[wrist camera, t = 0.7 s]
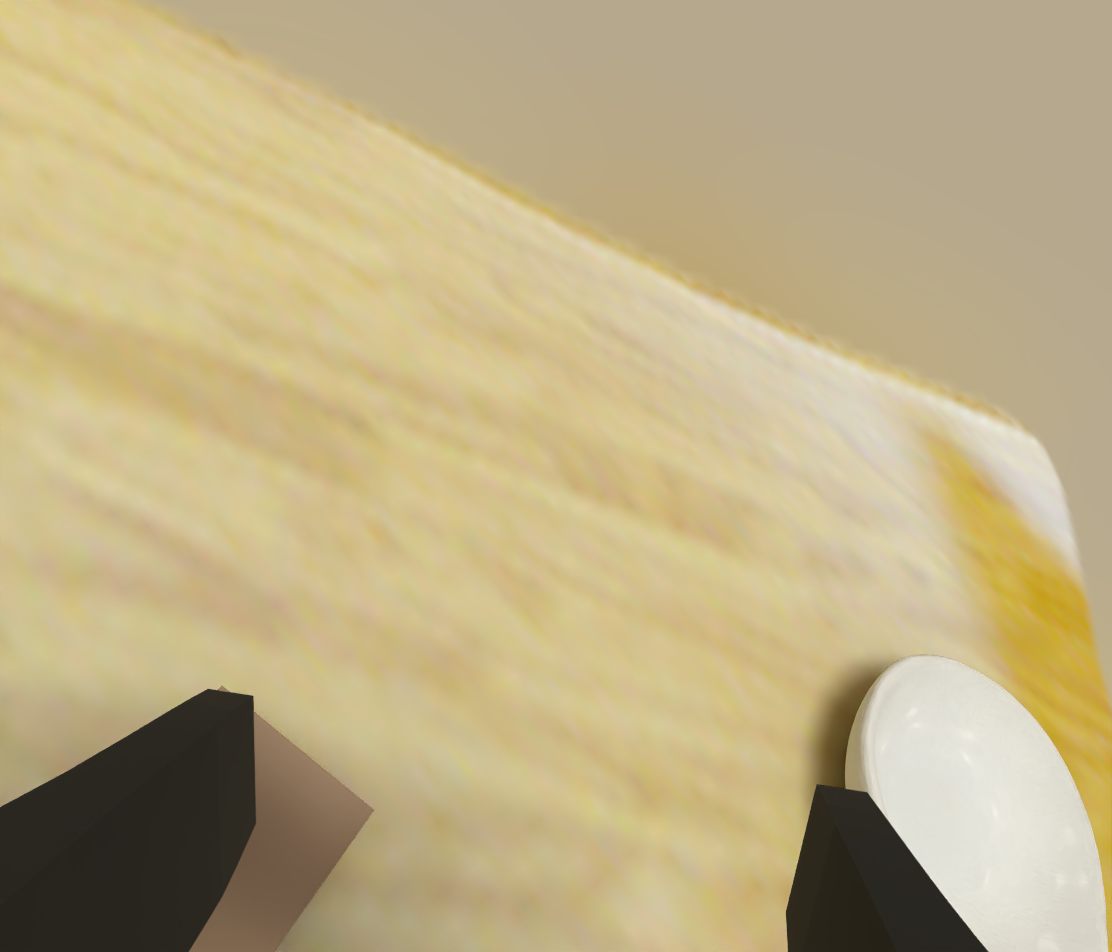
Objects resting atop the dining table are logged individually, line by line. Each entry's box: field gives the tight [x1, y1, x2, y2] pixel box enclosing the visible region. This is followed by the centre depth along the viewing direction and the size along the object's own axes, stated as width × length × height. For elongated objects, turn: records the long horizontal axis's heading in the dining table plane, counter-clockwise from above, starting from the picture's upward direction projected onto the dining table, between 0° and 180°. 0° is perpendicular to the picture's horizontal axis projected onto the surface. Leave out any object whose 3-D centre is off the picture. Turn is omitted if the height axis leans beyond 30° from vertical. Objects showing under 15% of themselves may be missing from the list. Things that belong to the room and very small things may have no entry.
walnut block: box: [189, 686, 374, 952], centre depth 22 cm, size 4×4×6 cm
